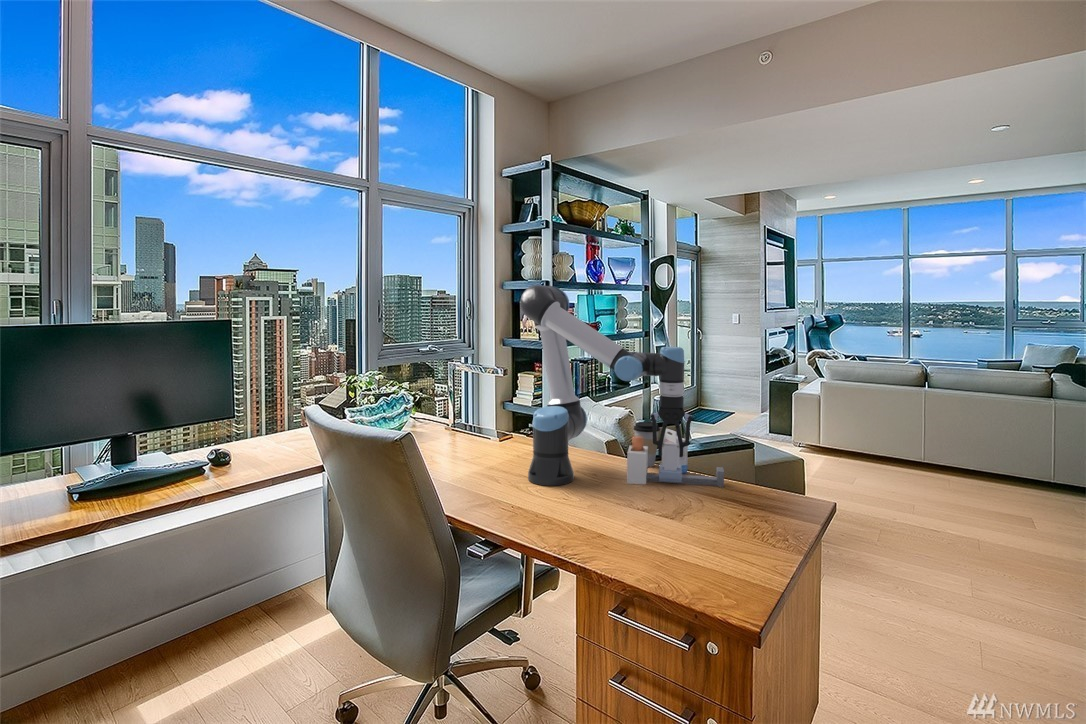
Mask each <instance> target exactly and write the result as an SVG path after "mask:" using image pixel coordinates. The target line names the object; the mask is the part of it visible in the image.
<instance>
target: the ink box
mask: <svg viewBox="0 0 1086 724" xmlns="http://www.w3.org/2000/svg"><path fill="white" fill-rule="evenodd" d="M682 441H683V442H685V438H683V437H682ZM665 443H677V446H679V441H678V436H677V431H675V430H672V429H670V428H668V427H666V431H665V435H664V440H663V444H662V445H665ZM688 448H689V446H685V447H684V448H683V457H679V465H681V468H682V474H687V473H688V453H689V451H688Z"/></svg>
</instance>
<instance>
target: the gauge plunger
mask: <svg viewBox="0 0 1086 724" xmlns="http://www.w3.org/2000/svg"><path fill="white" fill-rule="evenodd" d="M643 439H644V438H643V437H640V436H636V435H634V436H632V439H631V440H632V441H631V444H632V445H631V446H632V450H634V451H642V450H643Z"/></svg>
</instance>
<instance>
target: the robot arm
mask: <svg viewBox="0 0 1086 724" xmlns="http://www.w3.org/2000/svg"><path fill="white" fill-rule="evenodd" d="M519 305H520V308H521V311H522V313H523V315H524V316H525V317H526V318H528V320H530V321H532V322H534V327H535V328H536V329H537V330H538V331H539V332H540V339H541V344H542V346H541V347H542V352H543V353H542V354H543V358H544V365H545V372H546V379H547V384H548V390H549V397H550V399H549V400H548V402H547V403H546V406H545V407H544V406H543V407H540V408H538V409H536V410H535V411H534V412H533V415H532V417H533V419H532V443H533V444H532V453H533V454H532V459H531V462H530V464H529V468H528V471H527V479H528V481H529V482H530V483H532V484H535V485H540V486H549V487H550V486H552V487H553V486H554V487H555V486H562V485H566V484H570V483H572V482H573V481H574V477H575V476H574V474H575V473H574V469H573V467H572V463H571V460H570V457H569V442H570V440H572V439H574V438H576V437H578V436H579V435H581V434H582V432H583V431H584V430H585V428H586V427H587V423H588V417H587V416H588V415H587V412H586V410H585V409H584V408H583V407H582V406H581V400H580V398H579V397H578V396H577V395H576V394H575V389H574V384H573V383H574V381H573V375H572V369H571V362H570V357H569V350H568V344H567V341H568V342H570V343H571V344H573V345H574V346H576V347H577V348H579V349H581V350H582V351H583V352H585V353H586V354H587V355H588V354H589V356H591V357H592V358H594V359H596V360H597V361H599V362H600V363H601V364H602V365H605V366H606V367H608V368H609V369H611V371H613V372H614V374H615V375H616V377H617V378H618V379H620V380H622V381H624V382H631V381H636V380H637V379H638V378H641V377H646V376H647V377H648V376H649V377H650V376H651V377H659V394H660V395H659V407H658V411H657V412H654V413H653V412H652V413H650V416H649V417H650V419H651V422H652V429H653V444H655V445H657V450H658V451H657V452H658V453H657V454H658V457H661V464H662V467H664V445H663V440H664V435H665V431H666V428H668V427H667V426H668V425H670V424H672V425H675V430H676V432H677V436H678V441H679V446H677V468H679V457H683V448H684V447H685V446H688V447H689V446H690V438H691V437H690V435H691V423H692V421H693V415H692V414H689V413H686V412H685V410H684V404H685V401H684V396H683V395H684V393H685V392H684V391H685V390H684V389H685V380H684V379H685V363H686V360H685V350H684V348H682V347H680V346H662V347H660V350H659V352H639V351H632V352H630V351H628V350H627V349H625V348H624V347H623V346H621V345H619V344H618V343H617V342H615V341H614V340H612V339H610V338H609V337H607V336H606V335H604V334H603V333H601V332H600V331H598V330H596V328H593V327H592V326H590V325H589V324H587V323H585V322H584V321H582V320H581V319H579V318H578V317H577V316H575V315H573V314H571V313H570V312H569V310H570V299H569V296H568V295H567V294H566V292H565V291H564V290H562V289H561V288H558V287H557V286H553V285H540V284H539V285H538V284H536V285H532V286H530V287H528V288H526V289H525V290H524V291H523V292H522V294H521V297H520V301H519ZM658 417H660V419H661V420H662V421H663V423H662V427H661V430H660V431H661V432H660V434H659V435H660V436H659V438H658V440H657V428H656V423H657V420H658ZM683 418H684V420H685V421H686V422H685V435H684V437H685V438H684V439H685V442H683V441H682V438H683V437H682V432H681V431H682V430H681V427H680V422H681V420H682V419H683Z"/></svg>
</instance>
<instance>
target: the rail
mask: <svg viewBox="0 0 1086 724" xmlns="http://www.w3.org/2000/svg"><path fill="white" fill-rule="evenodd" d="M715 469H716V470H715V471H716V472H715V476H706V475H690V474H682V481H681V483H679V482H664V481H659V472H647V479H646V482H651V483H652V482H653V483H654V482H655V483H667V484H683V485H696V486H697V485H698V486H699V485H701V486H711V487H712V486H715V487H717V488H724V487H725V470H724V467H722V466H716V467H715Z"/></svg>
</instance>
